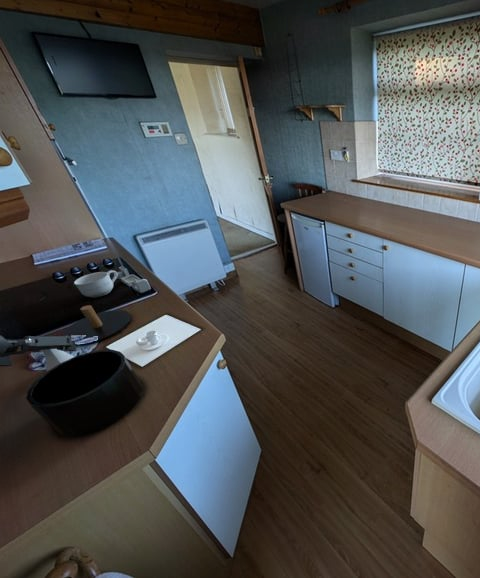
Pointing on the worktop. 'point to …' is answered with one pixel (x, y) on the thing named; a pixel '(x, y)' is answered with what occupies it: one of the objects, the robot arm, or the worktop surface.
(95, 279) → the teacup
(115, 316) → the lid
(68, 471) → the worktop surface
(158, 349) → the teacup and saucer
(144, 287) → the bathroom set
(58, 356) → the flask
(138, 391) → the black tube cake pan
